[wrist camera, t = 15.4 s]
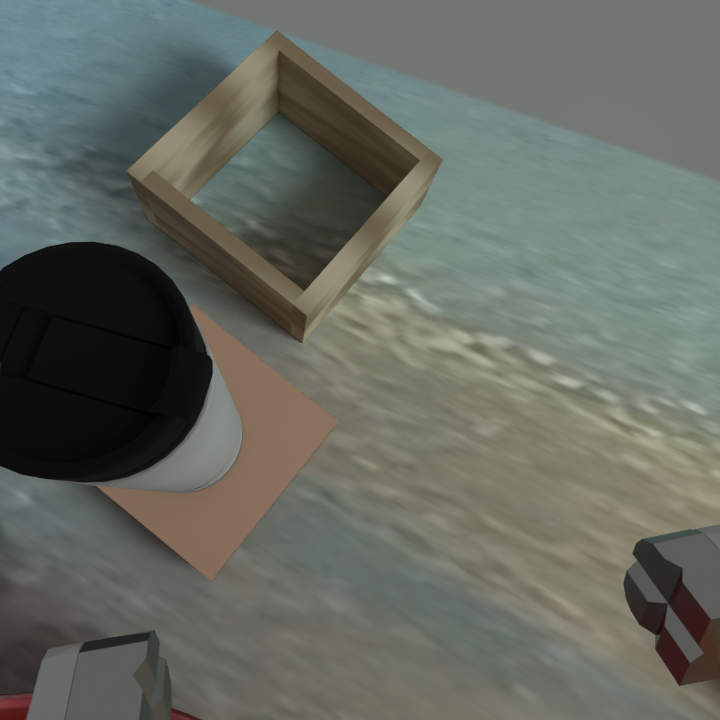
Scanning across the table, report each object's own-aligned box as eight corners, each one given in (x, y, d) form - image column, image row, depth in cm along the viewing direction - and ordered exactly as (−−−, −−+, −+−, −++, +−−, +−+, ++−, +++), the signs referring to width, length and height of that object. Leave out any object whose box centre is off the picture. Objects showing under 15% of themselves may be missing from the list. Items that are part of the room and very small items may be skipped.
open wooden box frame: (302, 343, 39) (307, 315, 33) (148, 219, 39) (126, 170, 34) (420, 206, 42) (442, 159, 37) (276, 93, 43) (276, 30, 37)
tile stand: (216, 574, 35) (210, 581, 32) (72, 455, 35) (54, 451, 33) (333, 427, 38) (338, 421, 35) (199, 319, 38) (193, 304, 35)
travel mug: (229, 508, 33) (159, 517, 14) (111, 475, 33) (-131, 437, 13) (263, 400, 35) (243, 273, 15) (151, 368, 34) (-13, 195, 15)
